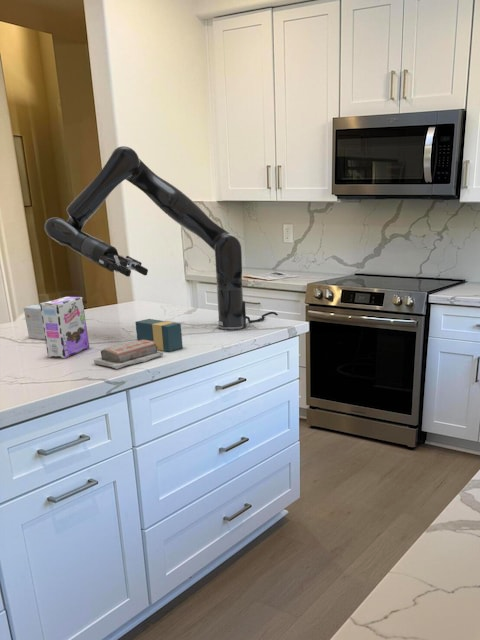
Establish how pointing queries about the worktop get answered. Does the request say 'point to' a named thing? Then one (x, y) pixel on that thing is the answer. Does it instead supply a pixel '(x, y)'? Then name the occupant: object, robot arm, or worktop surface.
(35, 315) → the small box
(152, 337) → the tea box
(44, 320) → the candy box
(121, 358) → the packaged product
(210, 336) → the worktop surface
